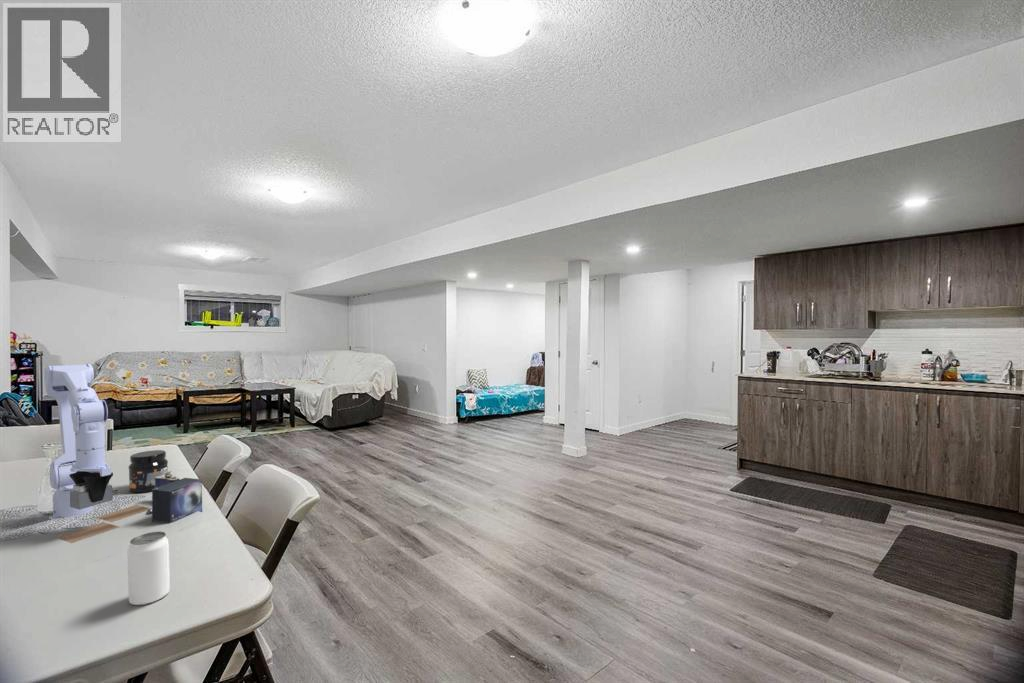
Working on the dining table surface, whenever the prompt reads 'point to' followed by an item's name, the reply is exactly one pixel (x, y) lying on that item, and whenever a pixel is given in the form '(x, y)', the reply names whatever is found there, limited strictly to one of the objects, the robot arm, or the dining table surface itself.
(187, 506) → the small box
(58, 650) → the dining table surface
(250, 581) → the dining table surface
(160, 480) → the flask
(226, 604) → the dining table surface
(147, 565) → the can
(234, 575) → the dining table surface
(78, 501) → the block
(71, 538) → the stand
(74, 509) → the robot arm
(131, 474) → the supplement container
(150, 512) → the loose bolt
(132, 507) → the stand
